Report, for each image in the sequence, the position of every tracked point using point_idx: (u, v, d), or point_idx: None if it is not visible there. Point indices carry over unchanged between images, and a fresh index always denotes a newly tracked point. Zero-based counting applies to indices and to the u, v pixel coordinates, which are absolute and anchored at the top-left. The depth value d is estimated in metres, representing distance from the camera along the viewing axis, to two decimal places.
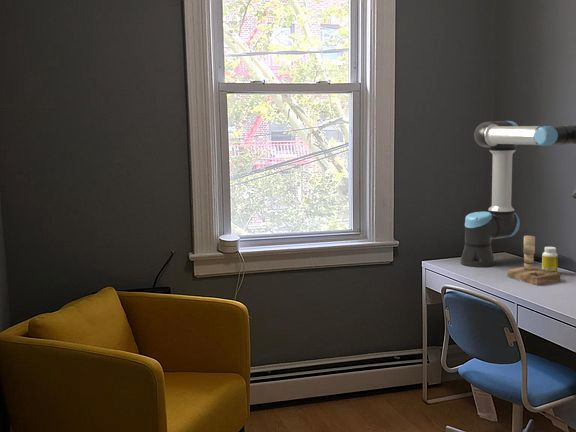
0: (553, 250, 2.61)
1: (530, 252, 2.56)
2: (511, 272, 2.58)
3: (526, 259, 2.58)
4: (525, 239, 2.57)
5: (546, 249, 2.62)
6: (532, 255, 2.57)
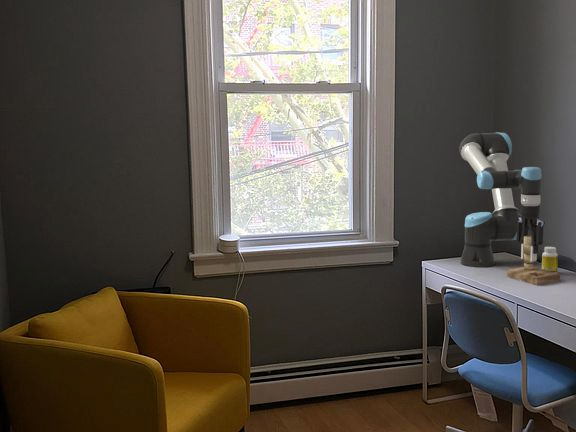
0: (553, 250, 2.61)
1: (530, 252, 2.56)
2: (511, 272, 2.58)
3: (526, 259, 2.58)
4: (525, 239, 2.57)
5: (546, 249, 2.62)
6: None
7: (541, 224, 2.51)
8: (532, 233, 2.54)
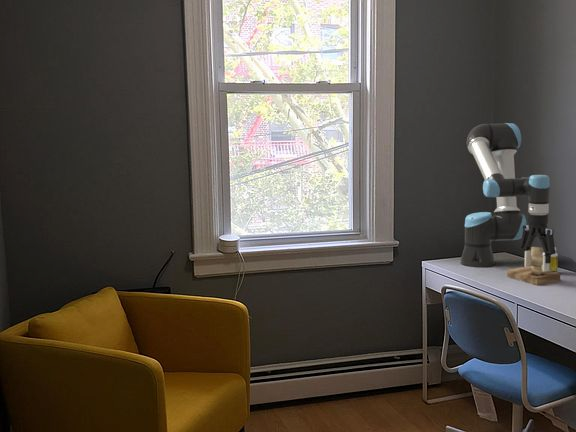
0: None
1: (538, 264, 2.49)
2: (511, 272, 2.58)
3: (533, 271, 2.50)
4: (533, 250, 2.49)
5: None
6: (540, 267, 2.49)
7: (550, 232, 2.42)
8: (542, 242, 2.46)
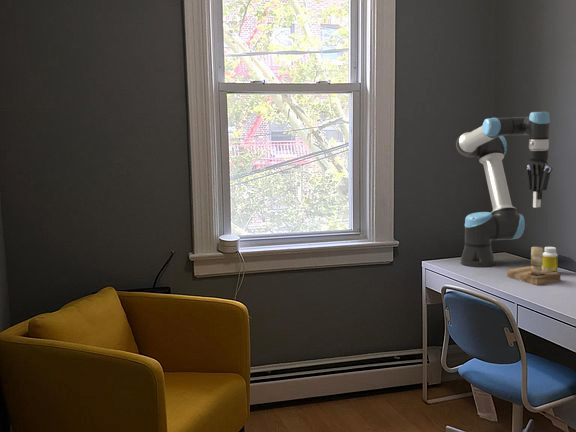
0: (553, 250, 2.61)
1: (538, 264, 2.49)
2: (511, 272, 2.58)
3: (533, 271, 2.50)
4: (533, 250, 2.49)
5: (546, 249, 2.62)
6: (540, 267, 2.49)
7: (548, 170, 2.48)
8: (538, 179, 2.52)
